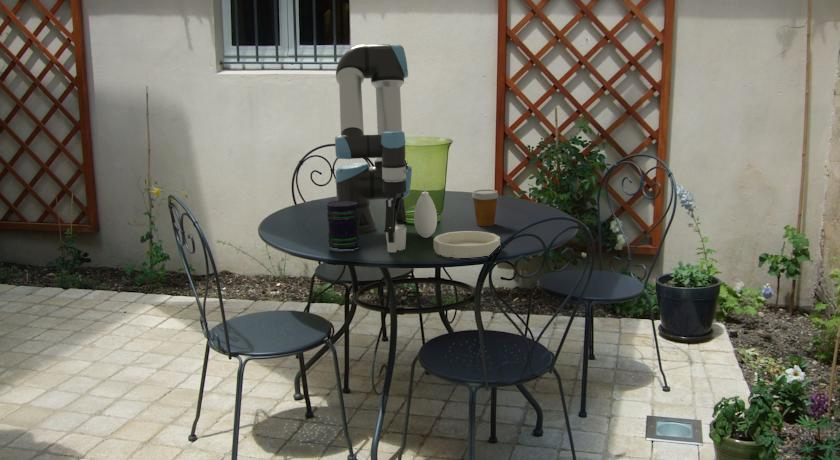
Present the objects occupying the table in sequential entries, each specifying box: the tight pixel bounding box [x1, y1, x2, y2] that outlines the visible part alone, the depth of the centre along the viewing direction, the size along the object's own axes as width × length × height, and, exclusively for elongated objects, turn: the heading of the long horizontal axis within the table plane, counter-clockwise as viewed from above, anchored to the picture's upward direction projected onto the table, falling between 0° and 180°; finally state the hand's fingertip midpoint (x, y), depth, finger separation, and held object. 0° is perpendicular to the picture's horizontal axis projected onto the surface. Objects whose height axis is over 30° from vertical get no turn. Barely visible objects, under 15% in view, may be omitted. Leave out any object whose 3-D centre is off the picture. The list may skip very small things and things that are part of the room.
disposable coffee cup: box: [471, 189, 499, 227], centre depth 315 cm, size 10×10×12 cm
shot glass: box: [385, 225, 408, 251], centre depth 284 cm, size 7×7×7 cm
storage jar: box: [326, 200, 360, 249], centre depth 285 cm, size 10×10×15 cm
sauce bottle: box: [413, 184, 438, 239], centre depth 297 cm, size 8×8×18 cm
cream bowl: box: [432, 230, 501, 259], centre depth 279 cm, size 20×20×4 cm
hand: (396, 248), depth 284 cm, fingers open, 10 cm apart
